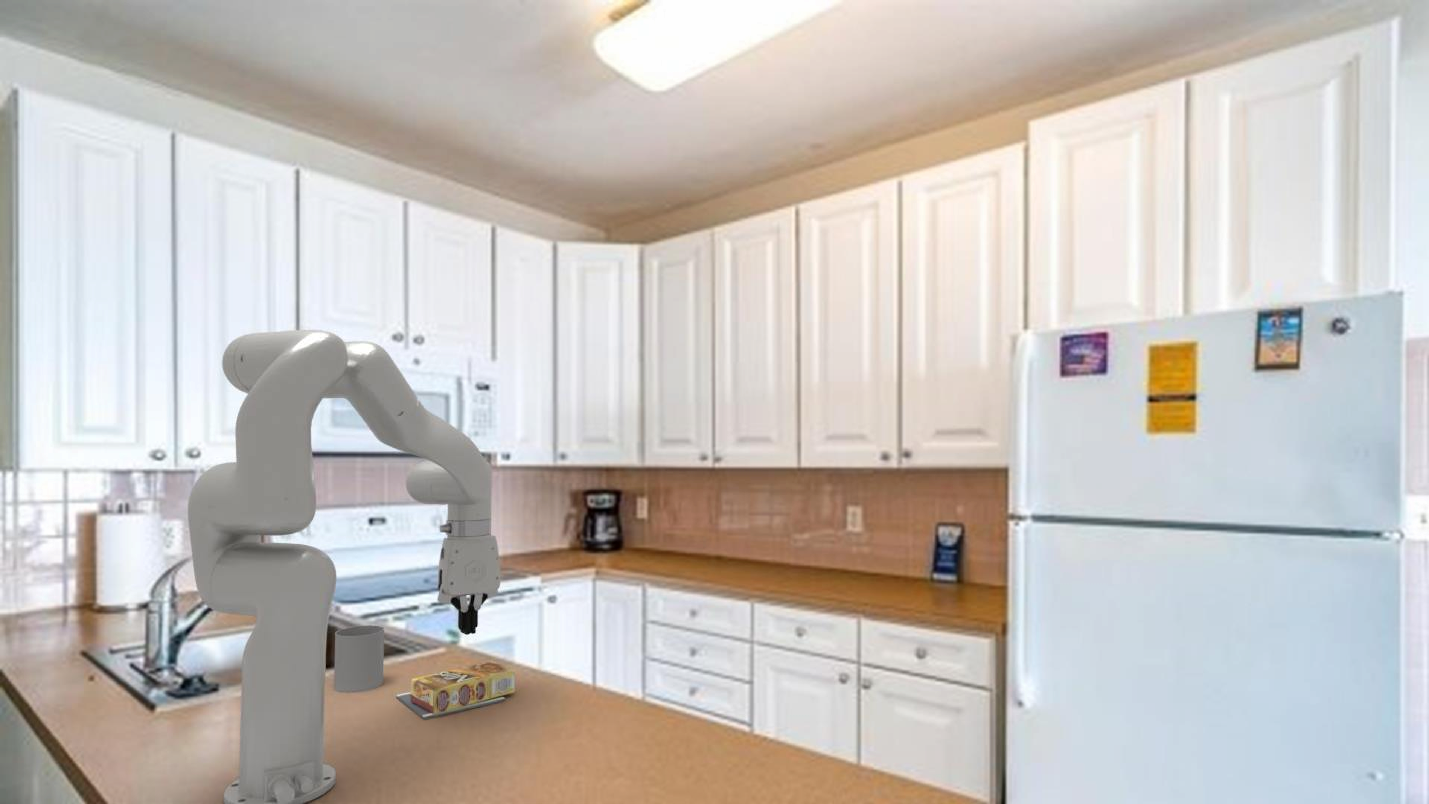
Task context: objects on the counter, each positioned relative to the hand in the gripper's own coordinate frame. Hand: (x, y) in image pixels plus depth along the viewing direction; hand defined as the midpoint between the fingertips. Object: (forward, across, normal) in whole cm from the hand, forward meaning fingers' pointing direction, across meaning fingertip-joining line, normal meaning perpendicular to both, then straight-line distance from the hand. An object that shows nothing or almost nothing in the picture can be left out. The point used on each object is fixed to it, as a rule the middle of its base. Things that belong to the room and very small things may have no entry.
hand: (467, 632), depth 136 cm
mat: (+11, -3, 0) cm, 11 cm away
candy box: (+9, +6, -1) cm, 11 cm away
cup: (+11, -13, +19) cm, 26 cm away
